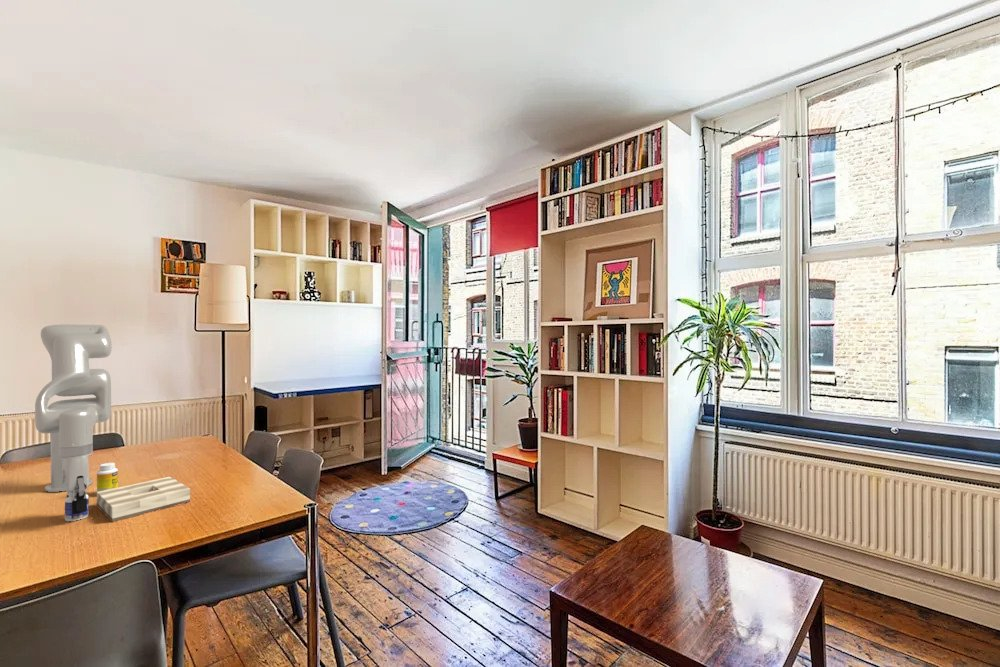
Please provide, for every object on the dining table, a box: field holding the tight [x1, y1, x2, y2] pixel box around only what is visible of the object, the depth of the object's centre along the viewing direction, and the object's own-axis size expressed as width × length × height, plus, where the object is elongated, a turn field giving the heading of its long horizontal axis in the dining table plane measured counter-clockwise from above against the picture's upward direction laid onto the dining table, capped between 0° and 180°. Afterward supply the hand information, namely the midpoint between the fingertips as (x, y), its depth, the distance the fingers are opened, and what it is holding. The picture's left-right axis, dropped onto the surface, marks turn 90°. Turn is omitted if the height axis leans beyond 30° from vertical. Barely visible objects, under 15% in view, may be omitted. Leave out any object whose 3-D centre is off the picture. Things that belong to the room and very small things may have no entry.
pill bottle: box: [64, 488, 90, 522], centre depth 139 cm, size 5×5×9 cm
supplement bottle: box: [96, 462, 119, 493], centre depth 160 cm, size 6×6×10 cm
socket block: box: [96, 476, 191, 523], centre depth 150 cm, size 20×20×4 cm
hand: (76, 509), depth 139 cm, fingers open, 6 cm apart
